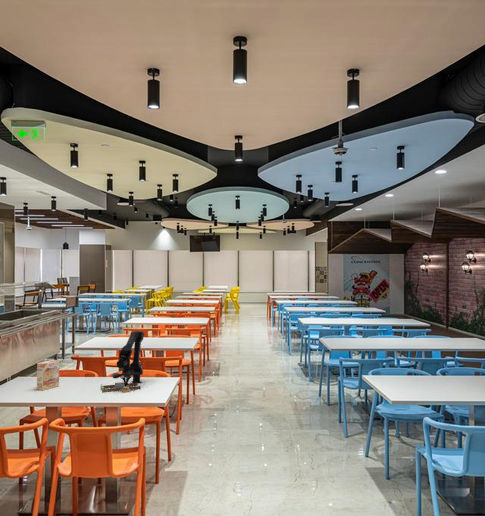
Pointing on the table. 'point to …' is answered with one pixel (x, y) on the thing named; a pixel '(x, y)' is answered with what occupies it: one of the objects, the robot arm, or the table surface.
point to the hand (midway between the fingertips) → (125, 386)
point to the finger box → (118, 388)
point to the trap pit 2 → (126, 390)
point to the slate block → (119, 385)
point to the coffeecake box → (47, 374)
